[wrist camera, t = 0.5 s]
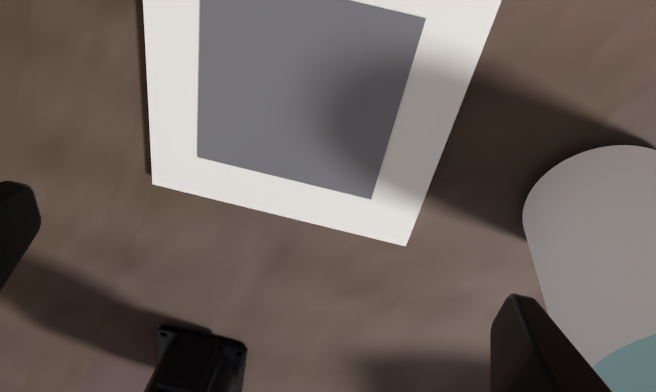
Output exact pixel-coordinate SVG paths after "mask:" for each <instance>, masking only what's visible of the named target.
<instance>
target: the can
mask: <svg viewBox="0 0 656 392" xmlns="http://www.w3.org/2000/svg"><path fill="white" fill-rule="evenodd" d="M522 221H523V227H524V231H525V235H526V238H527V242H528V245H529V249H530V253H531V256H532V260H533V263H534V267H535V270H536V274H537V277H538V281H539V284H540V288H541V291H542V295H543V298H544V302H545V305H546V309H547V312H548V315H549V316H550V318H551V319H552V320H553V321H554V322H555V324H556V325H557V326H558V327H559V328H560V330H561V331H562V332H563V333H564V334H565V336H566V337H567V338H568V339H569V340H570V342H571V343H572V344H573V345H574V346H575V348H576V349H577V350H578V351H579V352H580V354H581V355H582V356H583V357H584V358H585V360H586V361H587V362H588V363H589V364H590V366H591V367H592V368H593V369H594V370H595V372H596V373H597V374H598V375H599V376H600V378H601V379H602V380H603V381H604V382H605V384H606V385H607V386H608V387H609V388H610V390H611V391H612V392H656V150H653V149H650V148H646V147H640V146H632V145H615V146H606V147H600V148H595V149H591V150H588V151H585V152H582V153H579V154H577V155H574V156H572V157H570V158H568V159H566V160H564V161H562V162H561V163H559V164H557V165H556V166H555V167H553V168H552V169H550V170H549V171H548V172H547V173H546V174H544V175H543V176H542V177H541V178H540V179H539V181H538V182H537V183H536V184H535V185H534V187H533V188H532V189H531V191H530V193H529V195H528V197H527V199H526V201H525V204H524V208H523V214H522Z"/></svg>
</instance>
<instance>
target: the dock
mask: <svg viewBox="0 0 656 392" xmlns="http://www.w3.org/2000/svg"><path fill="white" fill-rule="evenodd" d="M501 1H502V0H143V13H144V32H145V51H146V71H147V90H148V109H149V128H150V148H151V167H152V184H154V185H158V186H162V187H166V188H170V189H174V190H178V191H182V192H186V193H190V194H194V195H198V196H203V197H207V198H211V199H215V200H219V201H223V202H227V203H231V204H235V205H239V206H243V207H247V208H251V209H255V210H260V211H264V212H268V213H272V214H276V215H280V216H284V217H288V218H292V219H296V220H300V221H304V222H308V223H312V224H317V225H321V226H325V227H329V228H333V229H337V230H341V231H345V232H349V233H353V234H357V235H361V236H365V237H369V238H374V239H378V240H382V241H386V242H390V243H394V244H398V245H402V246H406V245H407V242H408V239H409V237H410V234H411V232H412V229H413V227H414V224H415V221H416V219H417V216H418V214H419V211H420V209H421V206H422V203H423V201H424V198H425V196H426V193H427V191H428V188H429V185H430V183H431V180H432V178H433V175H434V173H435V170H436V168H437V165H438V162H439V160H440V157H441V155H442V152H443V150H444V147H445V144H446V142H447V139H448V137H449V134H450V132H451V129H452V126H453V124H454V121H455V119H456V116H457V114H458V111H459V108H460V106H461V103H462V101H463V98H464V96H465V93H466V91H467V88H468V85H469V83H470V80H471V78H472V75H473V73H474V70H475V67H476V65H477V62H478V60H479V57H480V55H481V52H482V49H483V47H484V44H485V42H486V39H487V37H488V34H489V31H490V29H491V26H492V24H493V21H494V19H495V16H496V14H497V11H498V8H499V6H500V3H501Z"/></svg>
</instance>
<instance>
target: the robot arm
mask: <svg viewBox="0 0 656 392" xmlns="http://www.w3.org/2000/svg"><path fill="white" fill-rule="evenodd" d="M40 226H41V216H40V212H39V208H38V205H37V201H36V197H35V193H34V190H33V189H32V188H31V186H29V185H27V184H23V183H18V182H14V181H3V182H0V291H1V289H2V288H3V287H4V285H5V283H6V282H7V280H8V279H9V277H10V275H11V274H12V272H13V271H14V269H15V268H16V266H17V264H18V263H19V261H20V260H21V258H22V257H23V255H24V253H25V252H26V250H27V249H28V247H29V245H30V244H31V242H32V241H33V239H34V238H35V236H36V234H37V233H38V231H39V229H40ZM157 346H158V365H157V366H156V368H155V370H154V372H153V374H152V376H151V378H150V380H149V382H148V384H147V386H146V388H145V390H144V392H242V388H243V380H244V373H245V365H246V358H247V351H248V350H247V348H246V347H245V346H244V345H241V344H237V343H233V342H229V341H225V340H221V339H217V338H213V337H209V336H205V335H201V334H197V333H193V332H189V331H185V330H181V329H177V328H173V327H169V326H164V325H163V326H160V327H159V329H158V331H157ZM490 392H612V391H611V390H610V388H609V387H608V386H607V385H606V384H605V382H604V381H603V380H602V379H601V378H600V376H599V375H598V374H597V373H596V372H595V370H594V369H593V368H592V367H591V366H590V364H589V363H588V362H587V361H586V360H585V358H584V357H583V356H582V355H581V354H580V352H579V351H578V350H577V349H576V348H575V346H574V345H573V344H572V343H571V342H570V340H569V339H568V338H567V337H566V336H565V334H564V333H563V332H562V331H561V330H560V328H559V327H558V326H557V325H556V324H555V322H554V321H553V320H552V319H551V318H550V316H549V315H548V314H547V313H546V311H545V310H544V309H543V308H542V307H541V305H540V304H539V303H538V302H537V301H536V300H535V299H534V298H531V297H528V296H523V295H519V294H510V295H509V296H508V297H507V298H506V300H505V302H504V303H503V305H502V307H501V309H500V310H499V312H498V314H497V316H496V317H495V319H494V321H493V324H492V327H491V369H490Z"/></svg>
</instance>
